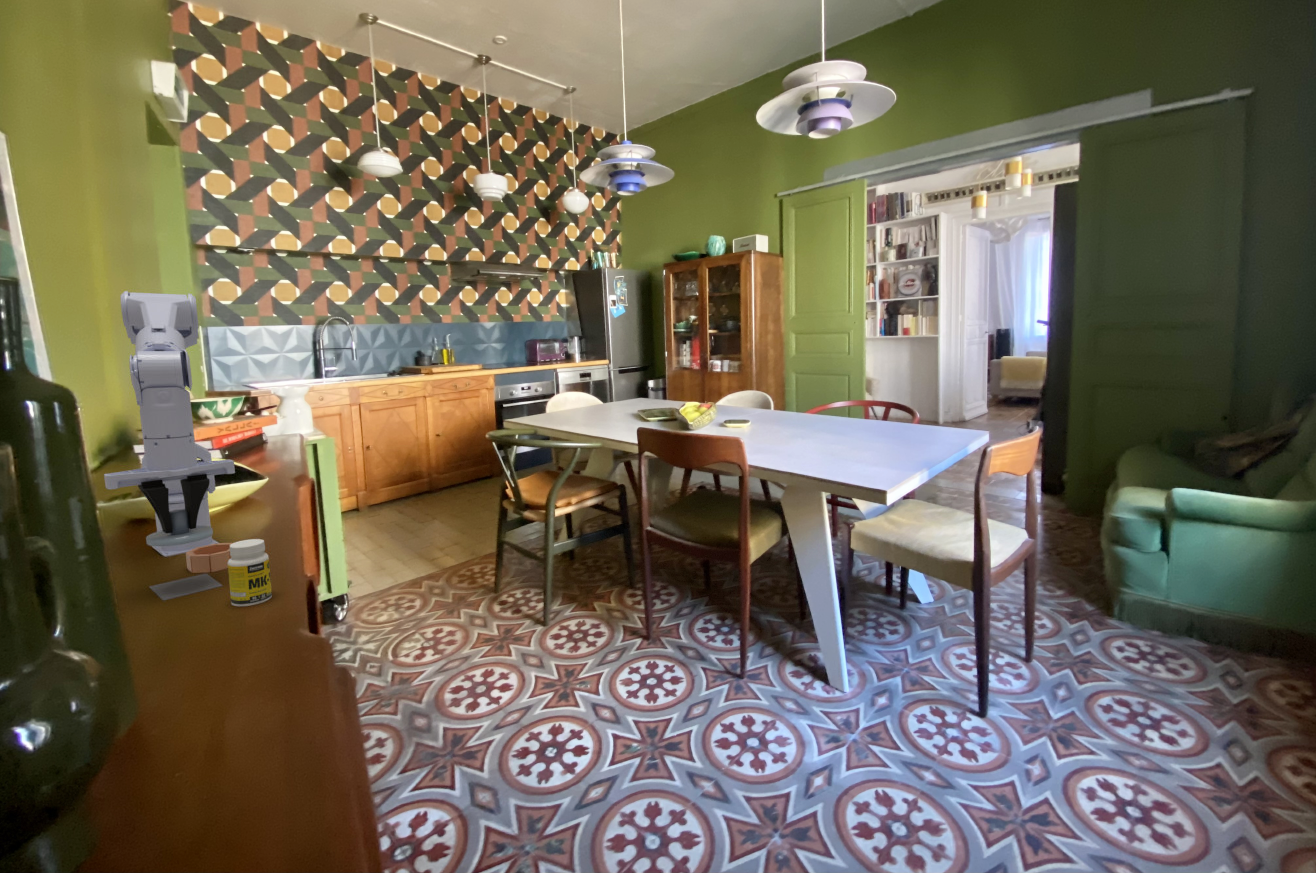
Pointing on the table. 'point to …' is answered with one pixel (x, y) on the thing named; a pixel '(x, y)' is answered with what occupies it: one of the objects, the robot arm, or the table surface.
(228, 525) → the table surface
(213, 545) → the bowl
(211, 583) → the mat
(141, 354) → the robot arm
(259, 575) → the supplement bottle
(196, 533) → the lid
